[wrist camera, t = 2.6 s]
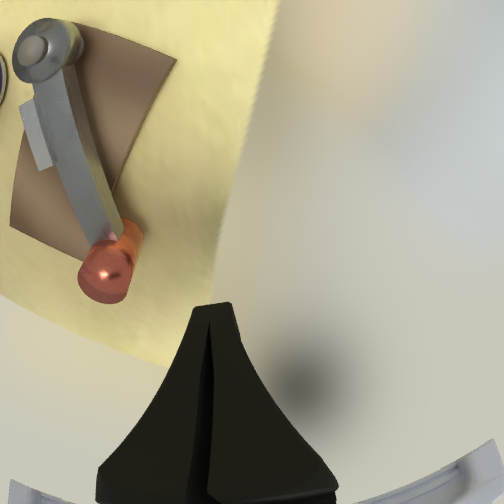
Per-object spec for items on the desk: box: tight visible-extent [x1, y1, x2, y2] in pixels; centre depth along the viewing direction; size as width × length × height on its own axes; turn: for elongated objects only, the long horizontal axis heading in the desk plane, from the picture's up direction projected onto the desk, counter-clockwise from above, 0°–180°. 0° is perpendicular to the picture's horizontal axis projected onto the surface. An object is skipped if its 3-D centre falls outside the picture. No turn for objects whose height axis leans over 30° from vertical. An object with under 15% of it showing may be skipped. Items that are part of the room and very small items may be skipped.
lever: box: [12, 18, 143, 304], centre depth 12 cm, size 15×3×4 cm, turn 8°
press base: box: [10, 21, 177, 262], centre depth 13 cm, size 14×7×5 cm, turn 148°
